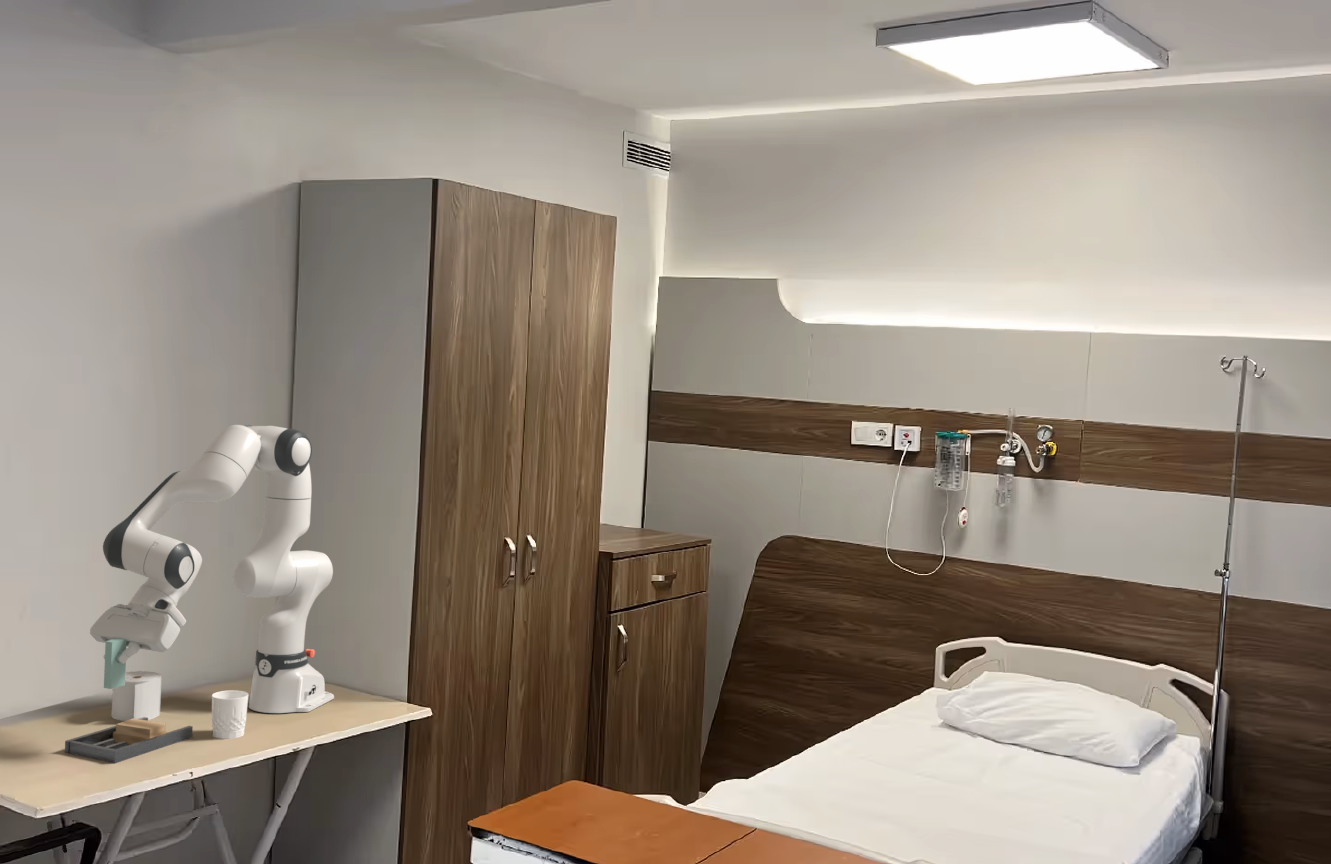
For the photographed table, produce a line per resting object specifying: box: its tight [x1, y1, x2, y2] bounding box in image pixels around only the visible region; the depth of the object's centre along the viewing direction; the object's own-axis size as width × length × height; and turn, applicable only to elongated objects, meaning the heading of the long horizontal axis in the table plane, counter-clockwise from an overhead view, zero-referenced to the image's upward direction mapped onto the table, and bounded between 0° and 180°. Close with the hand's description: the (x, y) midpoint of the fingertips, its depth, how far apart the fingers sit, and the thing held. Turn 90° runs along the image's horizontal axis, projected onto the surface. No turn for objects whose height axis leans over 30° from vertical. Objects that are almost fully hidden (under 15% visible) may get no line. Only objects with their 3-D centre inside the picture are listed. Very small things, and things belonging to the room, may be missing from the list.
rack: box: [64, 717, 193, 764], centre depth 267 cm, size 22×14×3 cm, turn 158°
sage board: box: [103, 638, 127, 690], centre depth 261 cm, size 4×2×10 cm, turn 158°
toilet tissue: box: [110, 670, 162, 722], centre depth 289 cm, size 11×12×10 cm
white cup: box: [211, 689, 249, 740], centre depth 278 cm, size 8×8×10 cm
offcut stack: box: [113, 719, 168, 745], centre depth 269 cm, size 6×10×4 cm, turn 68°
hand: (113, 660), depth 261 cm, fingers closed on sage board, 2 cm apart
